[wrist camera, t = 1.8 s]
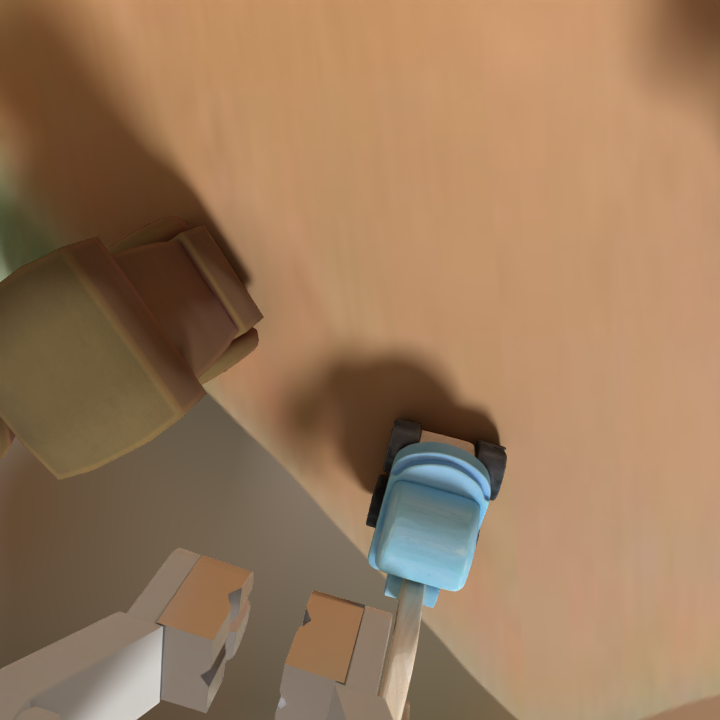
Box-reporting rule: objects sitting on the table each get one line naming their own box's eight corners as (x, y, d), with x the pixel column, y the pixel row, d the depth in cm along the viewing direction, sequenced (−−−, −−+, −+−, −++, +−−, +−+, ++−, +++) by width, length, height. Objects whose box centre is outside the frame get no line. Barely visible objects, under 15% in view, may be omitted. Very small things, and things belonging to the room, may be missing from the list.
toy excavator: (356, 560, 51) (296, 754, 35) (399, 398, 44) (347, 552, 28) (451, 590, 50) (431, 804, 34) (510, 430, 43) (519, 607, 27)
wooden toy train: (212, 187, 40) (46, 228, 25) (298, 324, 43) (194, 434, 28) (34, 311, 48) (-176, 400, 33) (117, 421, 50) (-42, 550, 35)
